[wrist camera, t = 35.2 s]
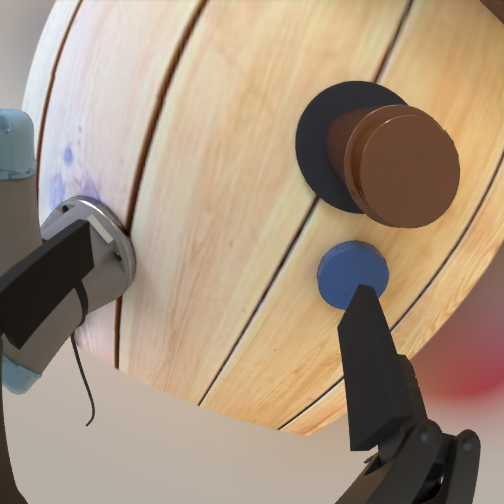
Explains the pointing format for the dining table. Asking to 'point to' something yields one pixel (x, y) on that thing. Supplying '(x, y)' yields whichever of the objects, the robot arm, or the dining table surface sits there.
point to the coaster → (316, 129)
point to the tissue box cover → (495, 8)
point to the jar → (394, 163)
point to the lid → (351, 272)
